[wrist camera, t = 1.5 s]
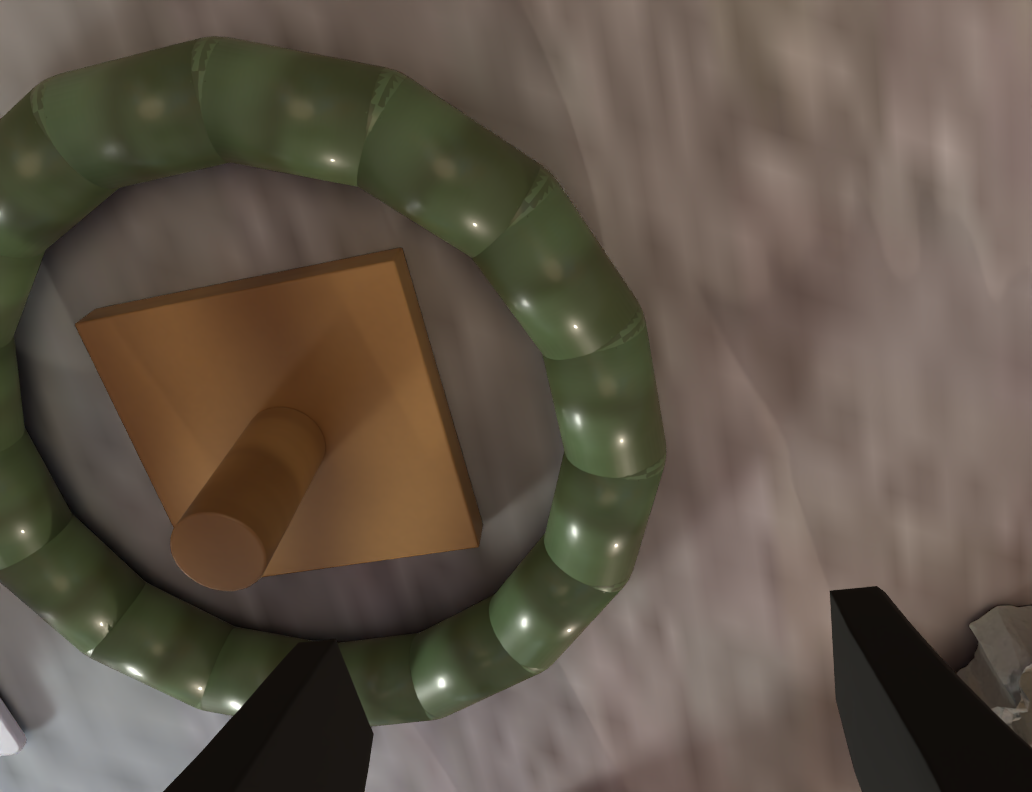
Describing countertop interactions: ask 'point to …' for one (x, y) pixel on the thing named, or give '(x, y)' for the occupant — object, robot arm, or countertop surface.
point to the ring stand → (289, 420)
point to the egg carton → (1004, 666)
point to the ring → (428, 202)
